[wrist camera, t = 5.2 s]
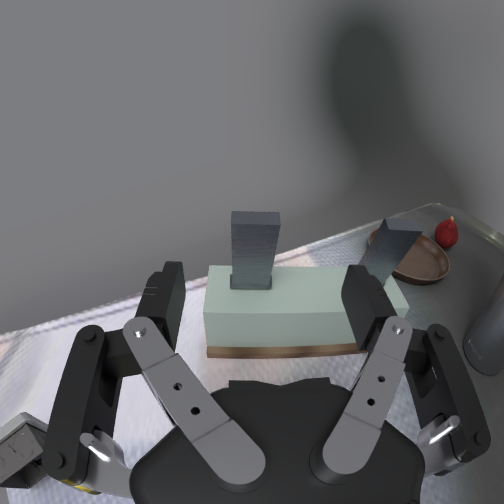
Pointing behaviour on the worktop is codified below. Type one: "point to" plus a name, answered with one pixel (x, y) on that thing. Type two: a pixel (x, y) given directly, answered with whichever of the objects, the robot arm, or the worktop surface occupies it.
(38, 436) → the electrical switch
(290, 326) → the block
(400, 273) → the plant saucer
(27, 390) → the worktop surface
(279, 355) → the brown rectangular board
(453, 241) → the onion
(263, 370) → the worktop surface
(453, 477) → the worktop surface
